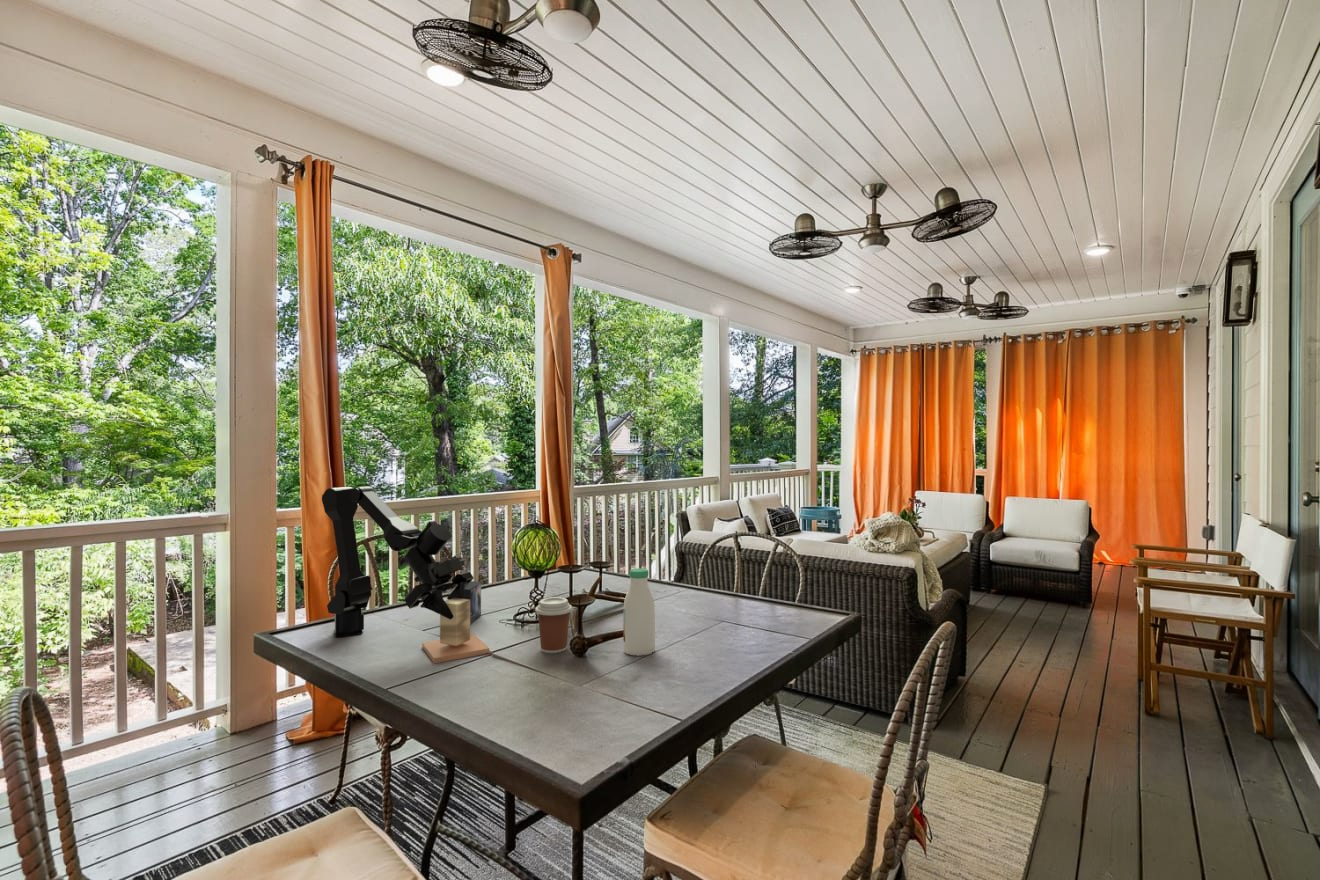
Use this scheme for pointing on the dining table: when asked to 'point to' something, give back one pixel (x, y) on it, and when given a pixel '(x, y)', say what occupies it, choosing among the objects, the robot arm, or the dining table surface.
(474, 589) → the small box
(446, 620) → the maple block
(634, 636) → the milk bottle
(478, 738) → the dining table surface
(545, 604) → the coffee cup
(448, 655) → the terracotta tile
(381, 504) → the robot arm
